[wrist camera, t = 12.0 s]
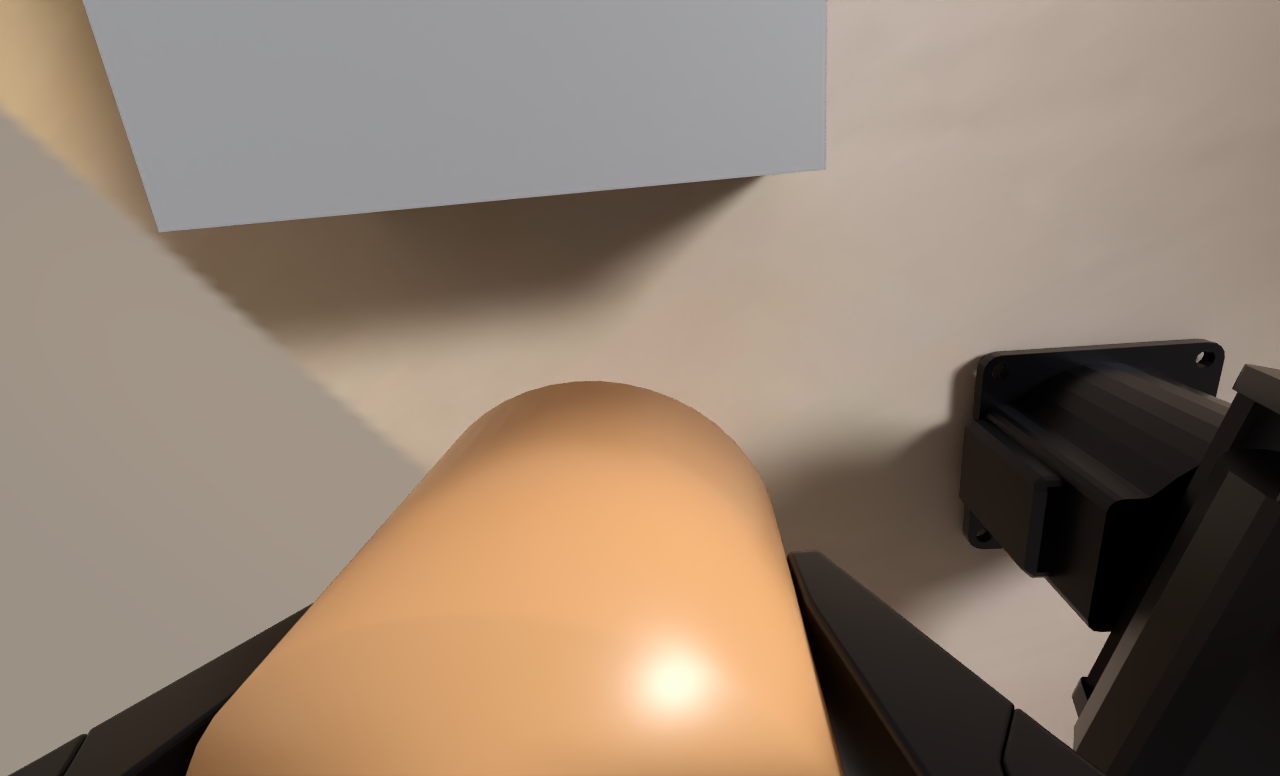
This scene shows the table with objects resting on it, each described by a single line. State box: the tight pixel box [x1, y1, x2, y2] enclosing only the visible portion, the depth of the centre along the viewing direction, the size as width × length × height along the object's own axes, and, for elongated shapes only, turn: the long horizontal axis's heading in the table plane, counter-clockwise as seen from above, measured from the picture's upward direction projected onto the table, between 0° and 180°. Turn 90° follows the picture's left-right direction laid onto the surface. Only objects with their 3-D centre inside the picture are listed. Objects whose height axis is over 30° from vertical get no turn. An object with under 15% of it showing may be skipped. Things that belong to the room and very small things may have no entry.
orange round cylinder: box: [186, 381, 845, 776], centre depth 7 cm, size 6×6×5 cm
